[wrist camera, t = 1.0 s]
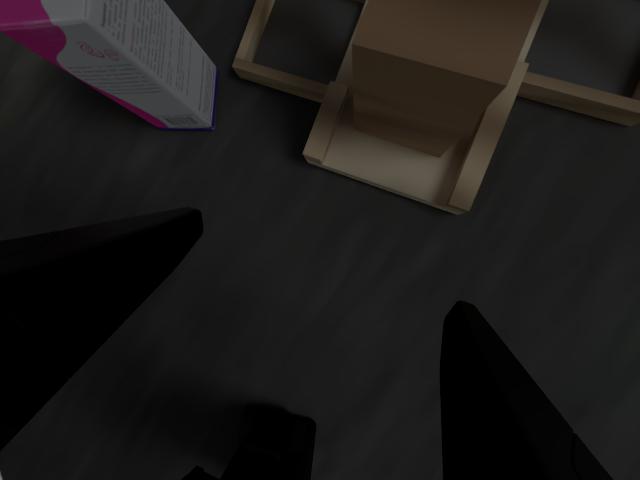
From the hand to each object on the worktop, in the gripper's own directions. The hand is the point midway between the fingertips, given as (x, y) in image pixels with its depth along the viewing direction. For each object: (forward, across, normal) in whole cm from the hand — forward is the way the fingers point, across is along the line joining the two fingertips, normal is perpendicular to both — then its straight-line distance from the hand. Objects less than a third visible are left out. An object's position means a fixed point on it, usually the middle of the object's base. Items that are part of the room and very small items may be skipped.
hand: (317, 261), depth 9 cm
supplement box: (+16, +18, +1) cm, 24 cm away
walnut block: (+18, -2, -3) cm, 18 cm away
